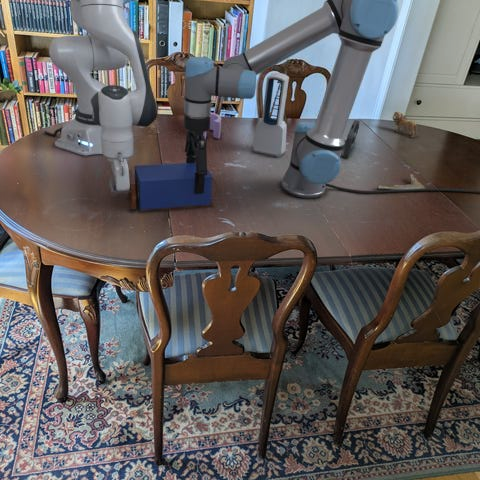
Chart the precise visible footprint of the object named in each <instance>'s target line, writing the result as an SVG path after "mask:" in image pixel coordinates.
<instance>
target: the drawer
mask: <svg viewBox="0 0 480 480" xmlns="http://www.w3.org/2000/svg"><path fill="white" fill-rule="evenodd" d="M129 182H130V189H129V190H128V191H117V190H116V186H115V182H114V179H110V180H108V186H109V189H110V194H111V196H116V195H117V194H119V195H120V194H127V196H128V199H129V203H130V207H131V209H132V210H133V209H134V210H135V209H136V210H137V198H136V190H135V177H134V175H133V172H132V169H129ZM137 195H138V198H139V201H140V188H139V180H138V177H137Z"/></svg>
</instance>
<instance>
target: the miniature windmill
mask: <svg viewBox="0 0 480 480" xmlns="http://www.w3.org/2000/svg"><path fill="white" fill-rule="evenodd" d="M288 66H289V58H287V59H286V64H285V67H282V66H279V65H277V64H276V65H274V66H273V71H275V72H276V71H278V72H279V71H281V70H282V74H285V75H287V74H288V68H289V67H288ZM276 83H277V84H278V87H277V90H276V93H275V97H274V101H273V103H272V105H271V108H270V116H269V117H270V118H272V117H276V118H277V115H274V114H273V112H274V110H277V111H278V108H275V107H278V104H276V102H277V100H279V96H280V95H279V92H280V89H281V82H280V81H278V80H277V81H276ZM288 83H290V80H289V81H288ZM286 108H287V106H286V105H285V109H284V116H283V121H284V122H285V123H286V124H287V116H286V115H287V113H286Z"/></svg>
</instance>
